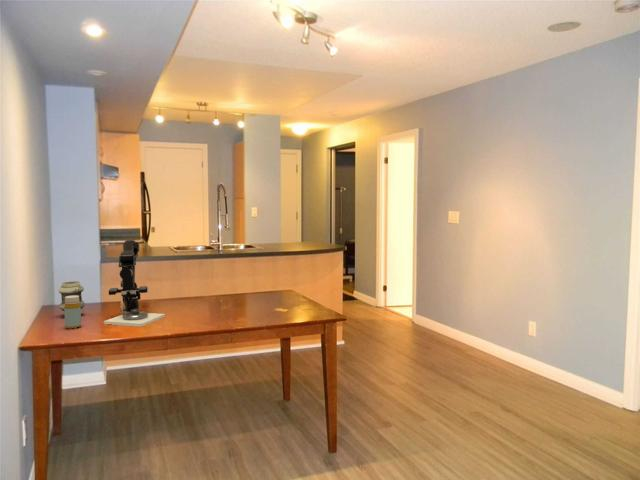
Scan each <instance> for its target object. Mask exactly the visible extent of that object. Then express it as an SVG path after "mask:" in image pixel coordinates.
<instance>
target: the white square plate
mask: <svg viewBox="0 0 640 480" xmlns="http://www.w3.org/2000/svg"><path fill="white" fill-rule="evenodd" d="M147 313H148V316H147V317H146V318H142V319H135V320H128V319H123V314H126V313H122V314H119V315H117V316H115V317H112V318H111V317H110V318H109V319H106V320H104V321H103V325H107V324H112V326H123V327H124V326H125V327H139V328H141V327H142V328H143V327H144V326H147V325H149V324H152V323H154V322H156V321H158V320H161V319H163V318H165V317H166V314H165V313H155V312H153V313H152V312H151V313H150V312H147Z"/></svg>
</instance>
